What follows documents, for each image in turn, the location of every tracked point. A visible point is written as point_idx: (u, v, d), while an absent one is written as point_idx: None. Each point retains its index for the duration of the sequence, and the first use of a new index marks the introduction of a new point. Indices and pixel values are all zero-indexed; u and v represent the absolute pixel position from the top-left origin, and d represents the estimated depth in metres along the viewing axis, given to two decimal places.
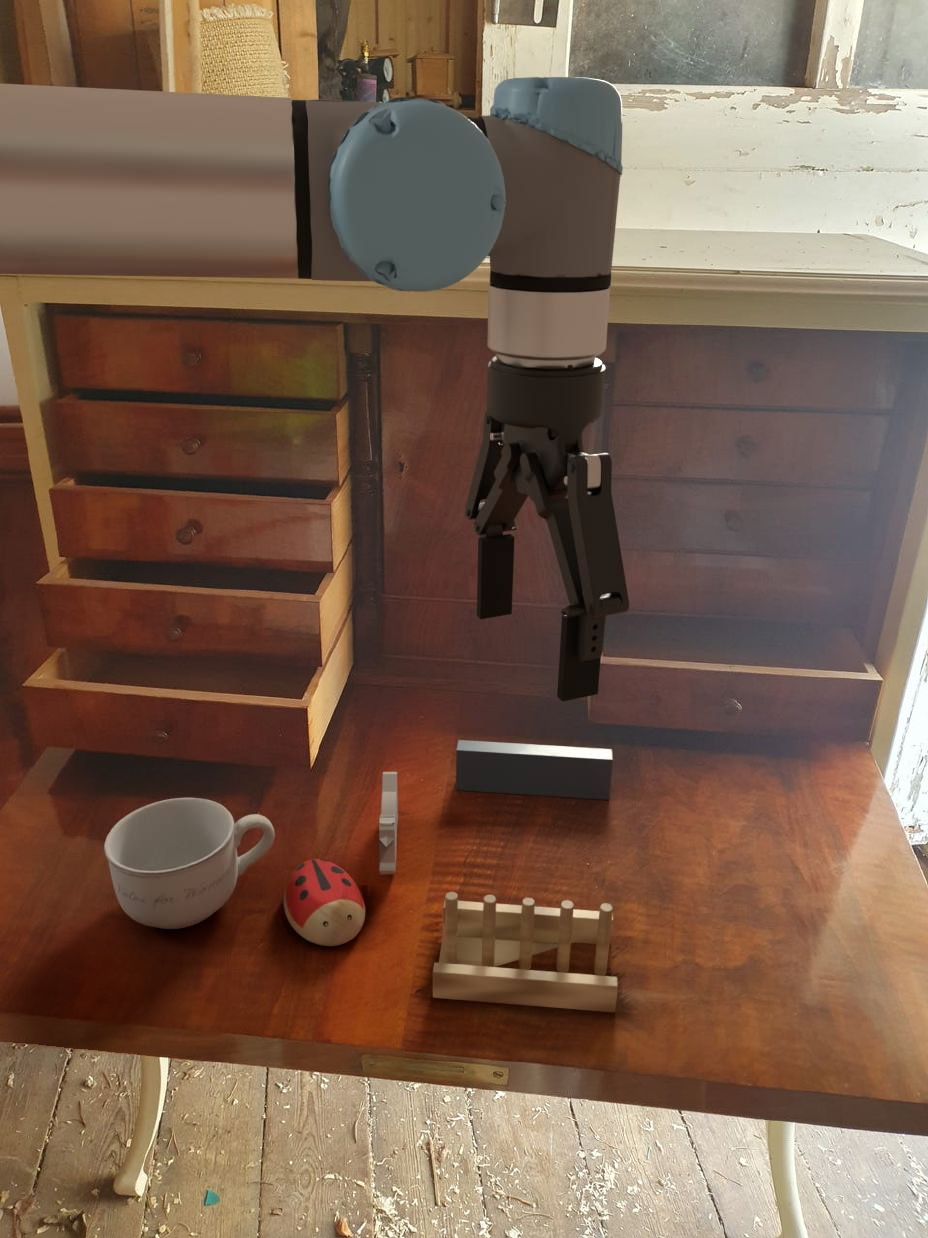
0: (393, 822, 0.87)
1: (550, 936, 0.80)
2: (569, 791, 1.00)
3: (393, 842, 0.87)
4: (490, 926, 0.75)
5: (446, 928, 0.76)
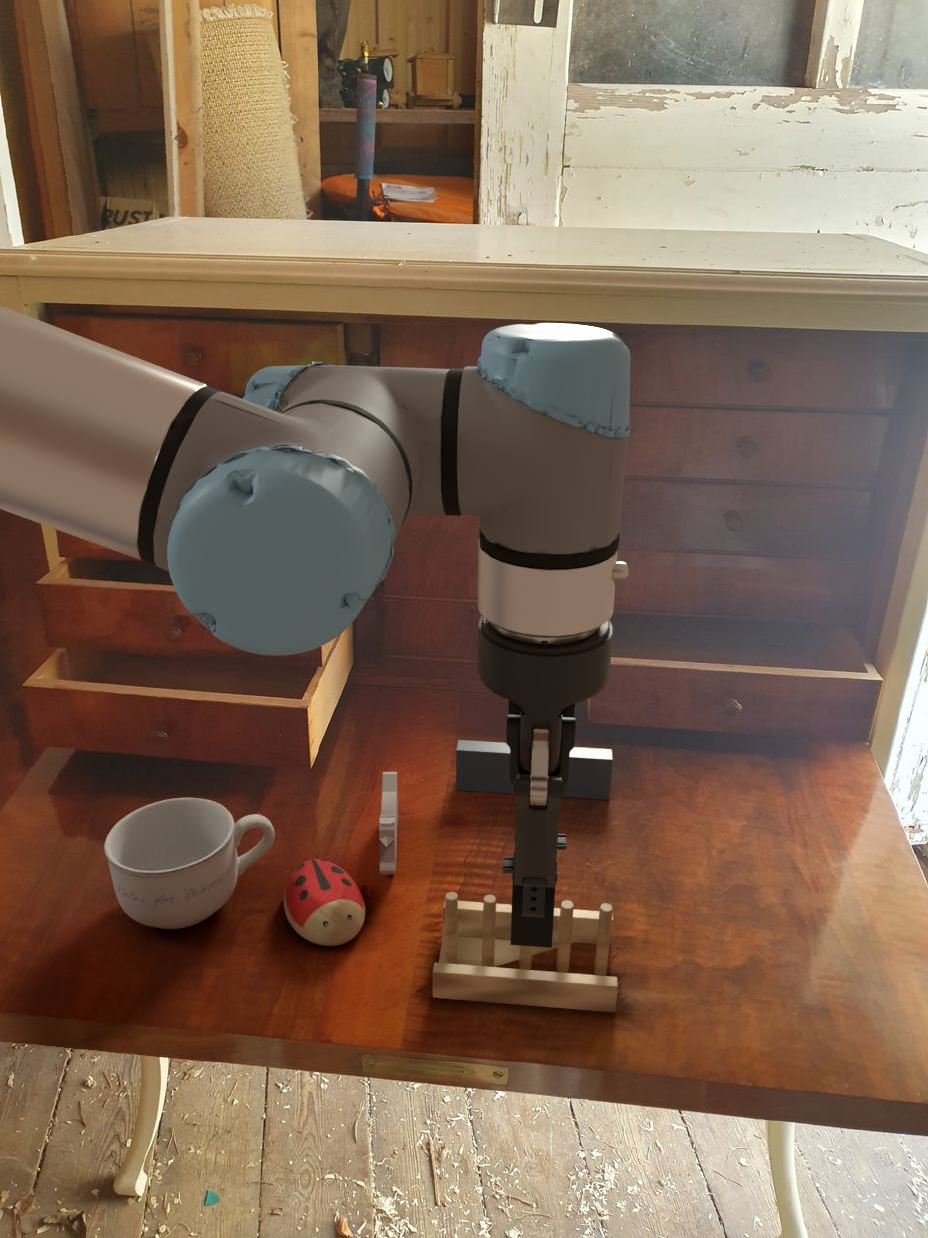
0: (393, 822, 0.87)
1: None
2: (569, 791, 1.00)
3: (393, 842, 0.87)
4: (490, 926, 0.75)
5: (446, 928, 0.76)
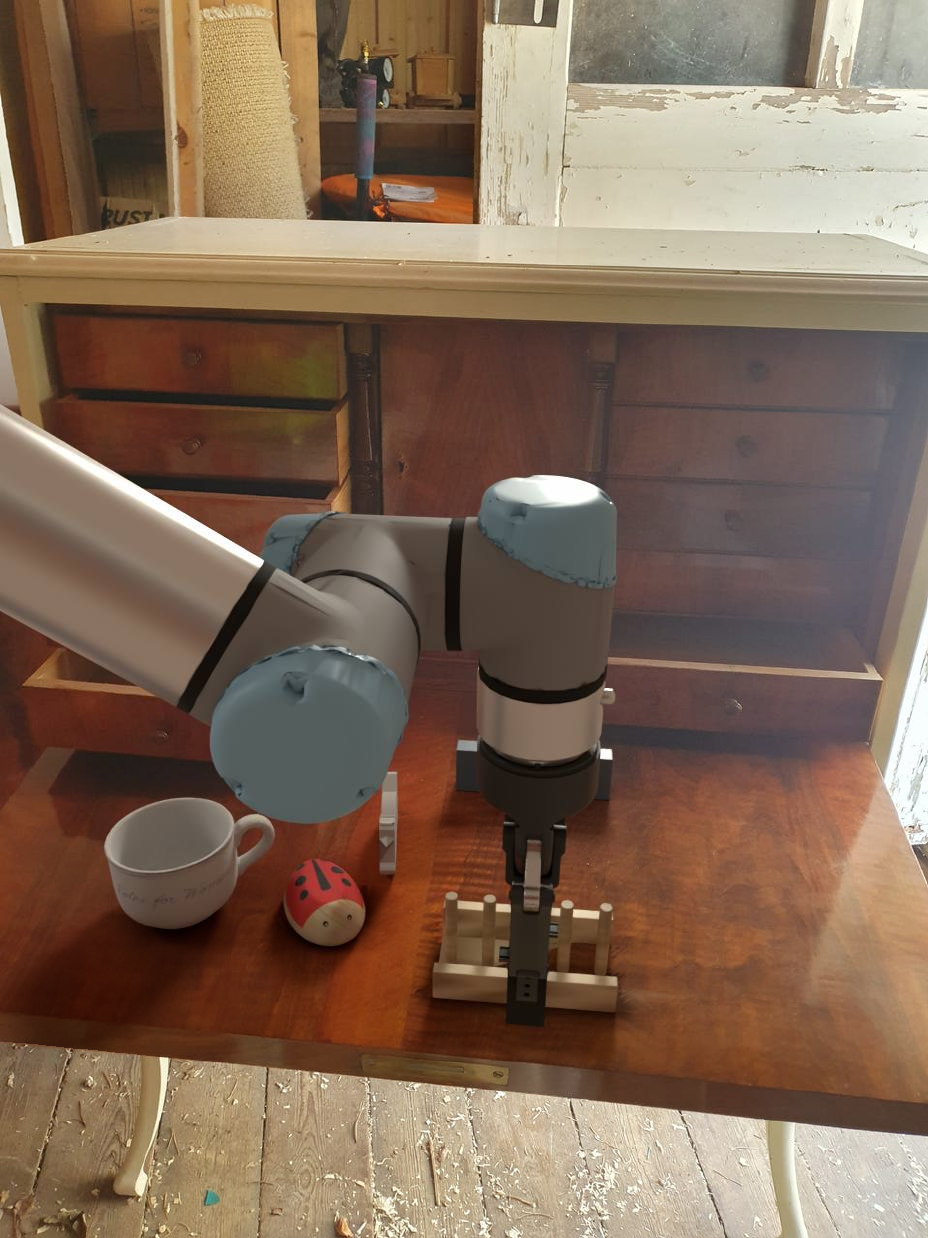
0: (393, 822, 0.87)
1: None
2: None
3: (393, 842, 0.87)
4: (490, 926, 0.75)
5: (446, 928, 0.76)
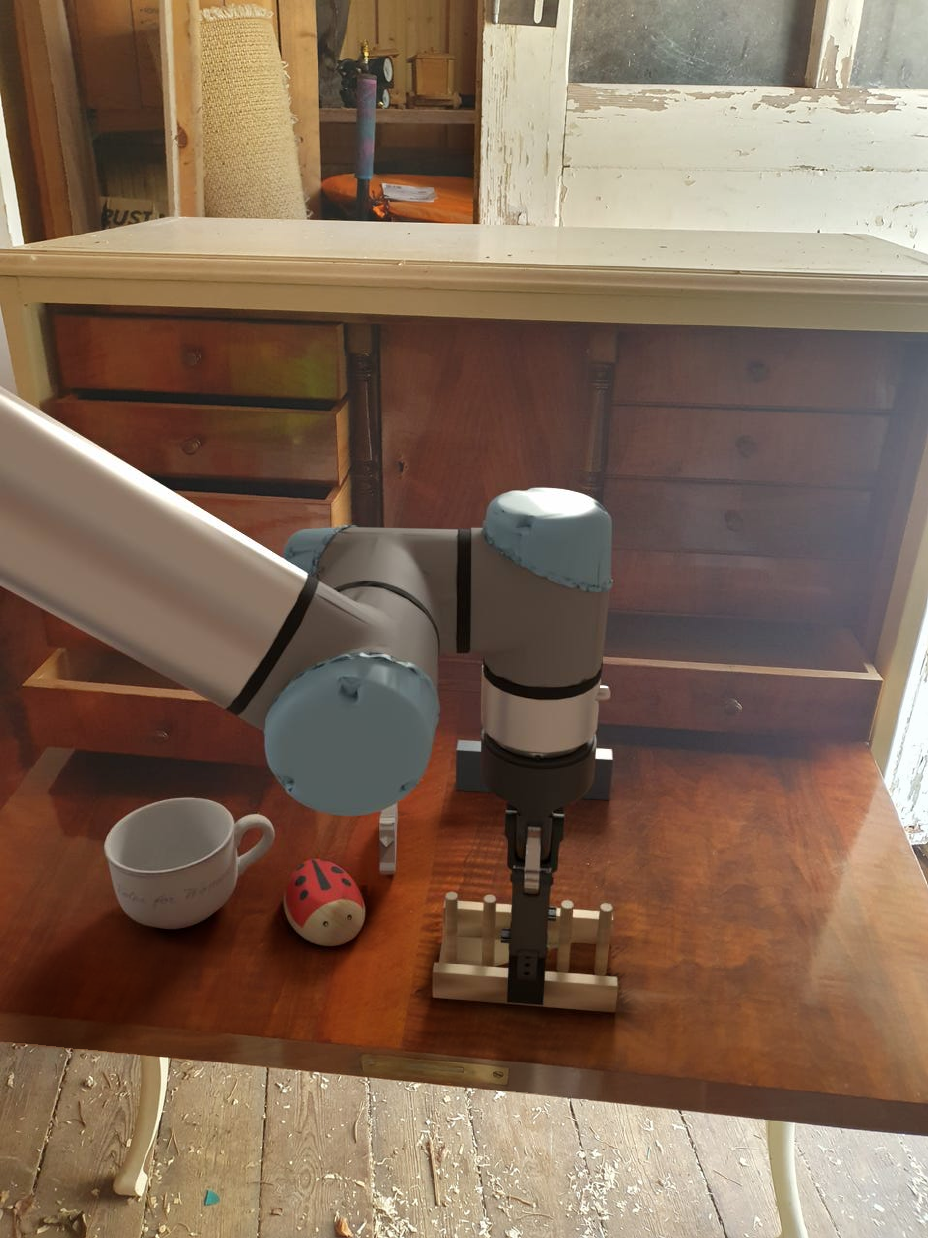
0: (393, 822, 0.87)
1: (550, 936, 0.80)
2: None
3: (393, 842, 0.87)
4: (490, 926, 0.75)
5: (446, 928, 0.76)
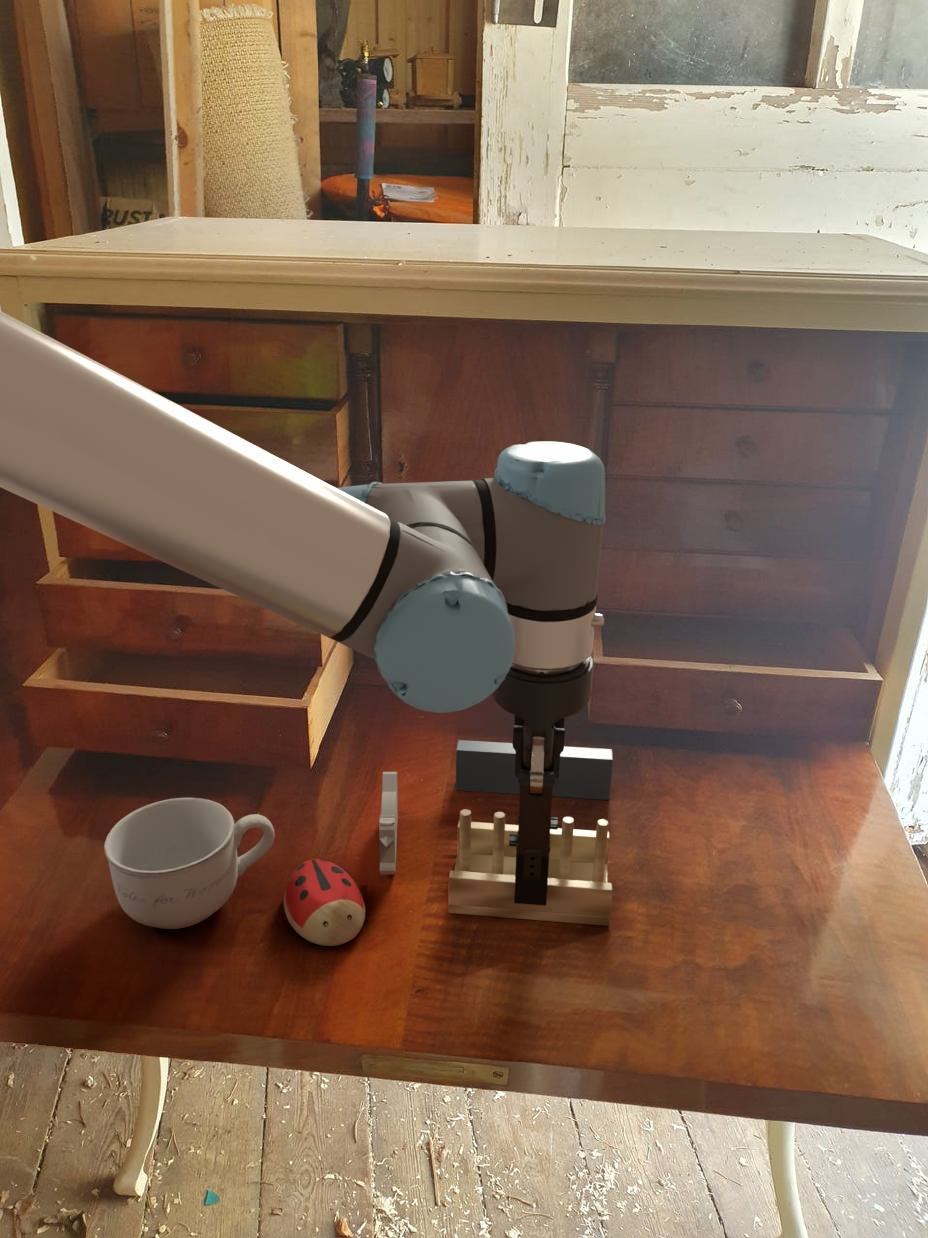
0: (393, 822, 0.87)
1: (553, 853, 0.89)
2: (569, 791, 1.00)
3: (393, 842, 0.87)
4: (500, 840, 0.85)
5: (460, 842, 0.86)
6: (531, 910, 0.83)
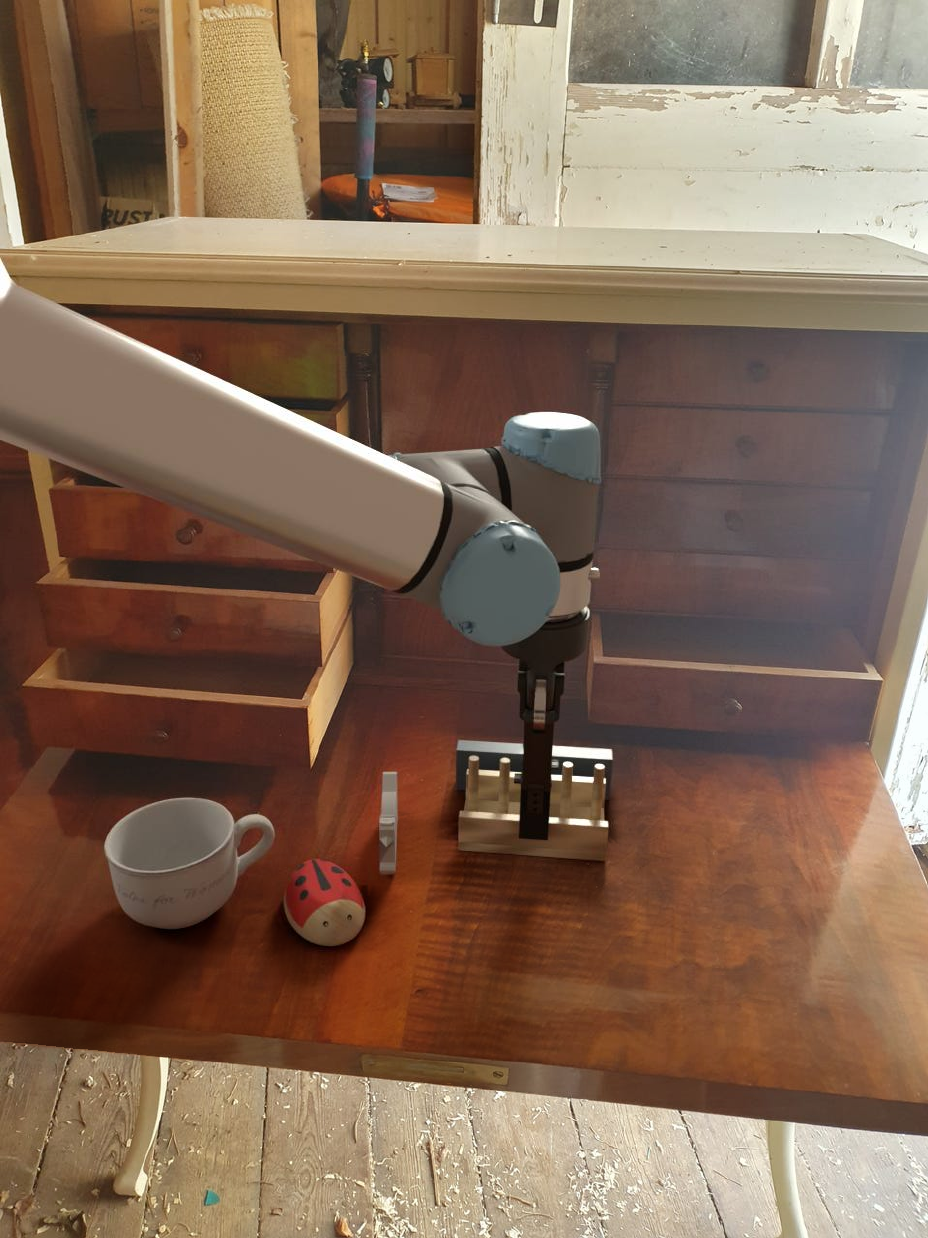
0: (393, 822, 0.87)
1: (554, 798, 0.97)
2: None
3: (393, 842, 0.87)
4: (505, 783, 0.93)
5: (469, 786, 0.93)
6: (534, 847, 0.91)
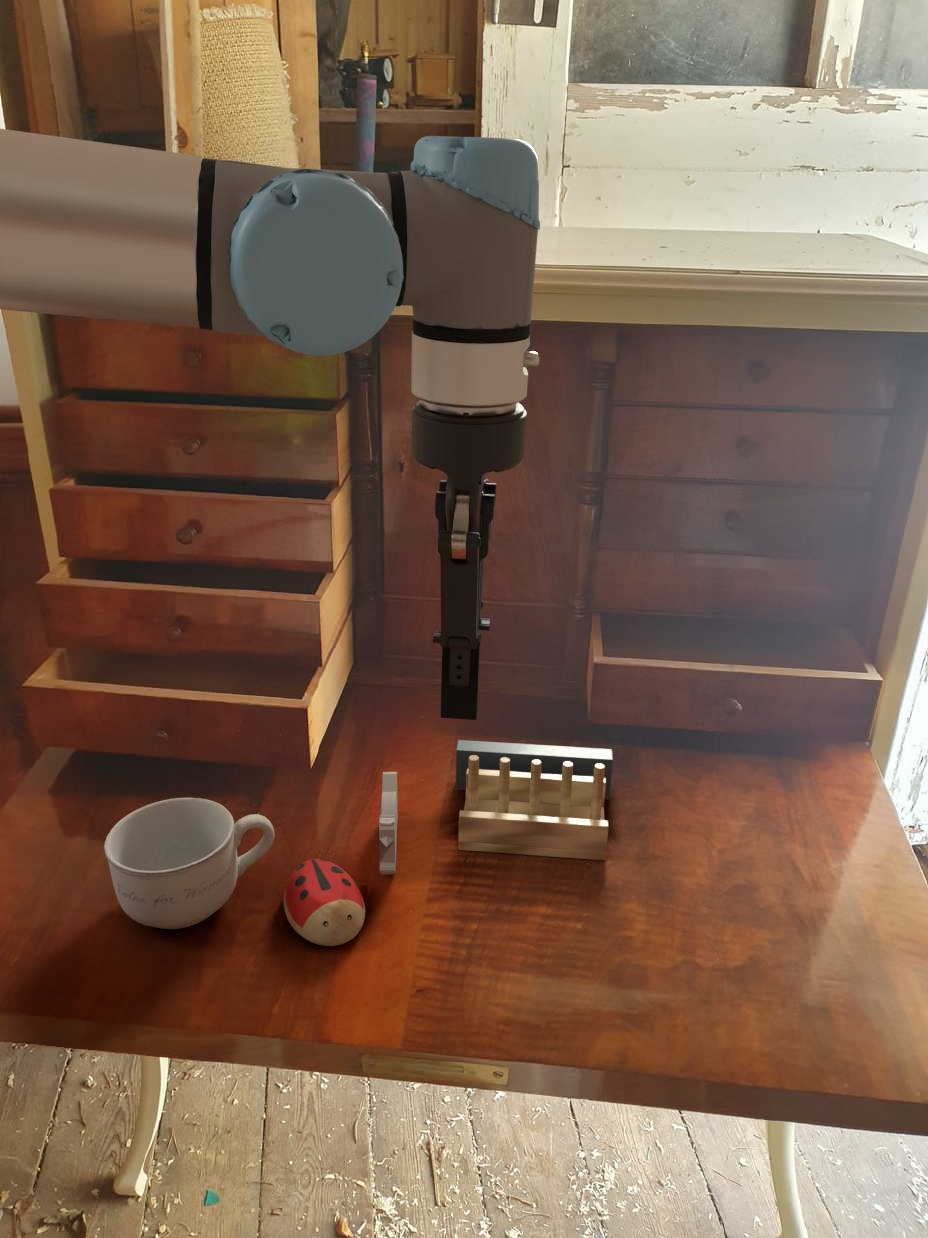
0: (393, 822, 0.87)
1: (554, 798, 0.97)
2: None
3: (393, 842, 0.87)
4: (505, 783, 0.93)
5: (469, 785, 0.93)
6: (534, 846, 0.91)
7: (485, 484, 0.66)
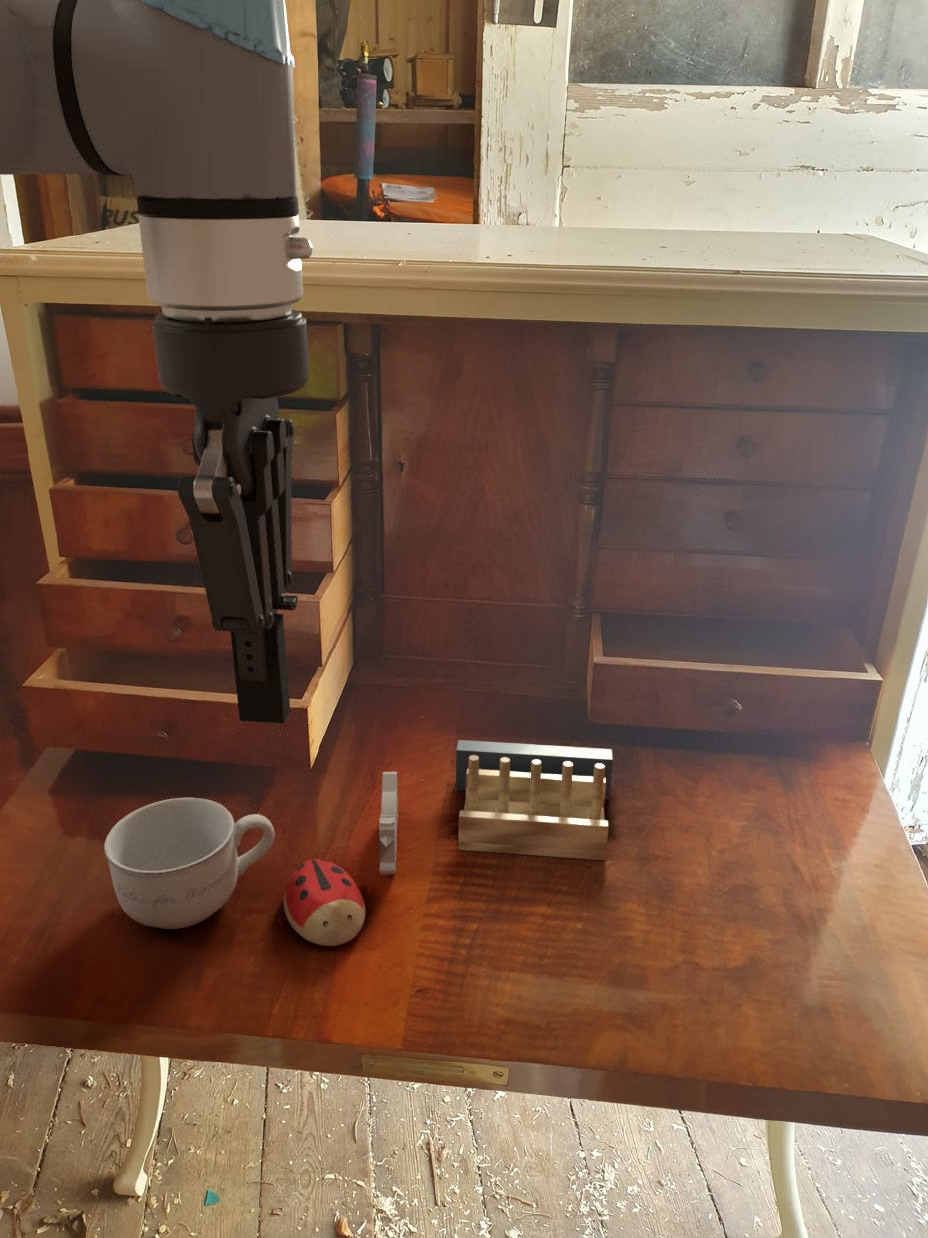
0: (393, 822, 0.87)
1: (554, 798, 0.97)
2: None
3: (393, 842, 0.87)
4: (505, 783, 0.93)
5: (469, 785, 0.93)
6: (534, 846, 0.91)
7: (267, 420, 0.51)
